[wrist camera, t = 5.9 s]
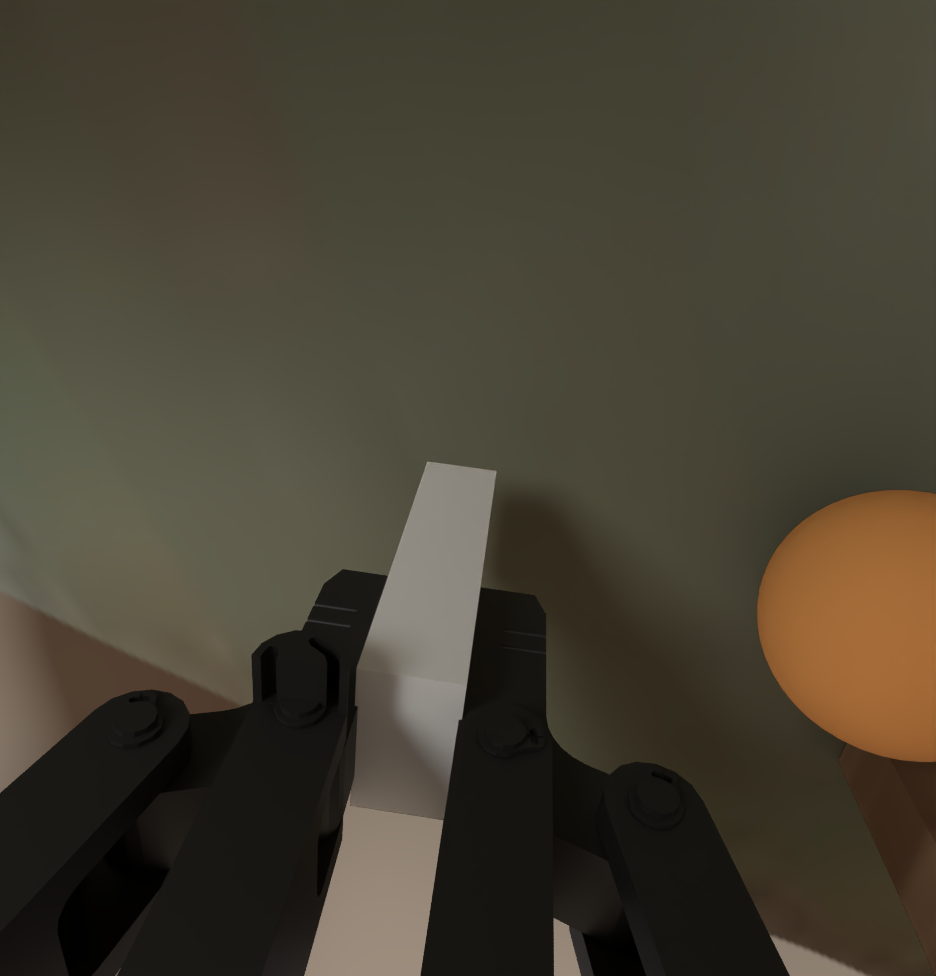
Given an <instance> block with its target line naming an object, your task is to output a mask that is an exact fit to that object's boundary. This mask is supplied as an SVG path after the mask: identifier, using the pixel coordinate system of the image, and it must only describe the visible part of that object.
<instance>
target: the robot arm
mask: <svg viewBox="0 0 936 976" xmlns="http://www.w3.org/2000/svg"><path fill="white" fill-rule="evenodd" d="M495 478H496V471H492V470H485V469H478V468H471V467H464V466H457V465H449V464H442V463H435V462H428V461H427V464H426V467H425V470H424V473H423V476H422V479H421V482H420V484H419V487H418V490H417V493H416V496H415V499H414V502H413V505H412V508H411V511H410V514H409V517H408V520H407V522H406V525H405V528H404V531H403V534H402V537H401V540H400V543H399V546H398V549H397V552H396V555H395V558H394V560H393V563H392V566H391V569H390V572H389V575H388V576H385V575H379V574H372V573H365V572H358V571H351V570H344V569H343V570H341V571H340V572H339V573H337V574H336V575H335V576H334V577H332V578H331V579H330V580H328V581H327V582H326V583H325V584H324V585H323V587H322V589H321V591H320V593H319V595H318V598H317V600H316V602H315V606H313V608H312V610H311V612H310V614H309V617H308V620H307V622H306V623H305V625H304V627H303V629H302V631H297V630H295V631H291V632H287V633H282V634H278V635H276V636H274V637H272V638H270V639H268V640H267V641H265V642H263V643H261V645H260V646H259V647H258V648H257V649H256V650H255V651H254V653H253V654H252V678H253V702H252V703H250V704H248V705H245V706H242V707H239V708H236V709H231V710H225V711H219V712H209V713H199V714H190V713H189V712H188V710H187V707H186V706H185V704H184V702H183V701H182V700H181V699H179V698H177V697H176V696H174V695H173V694H171V693H168V692H162V691H157V690H145V691H134V692H130V693H127V694H124V695H121V696H118V697H115V698H112V699H111V700H109V701H108V702H106V703H105V704H103V705H102V706H100V707H99V708H97V709H95V710H94V711H93V712H92V713H91V714H90V715H89V716H87V717H86V718H85V719H84V720H83V721H82V722H81V723H79V724H78V725H77V726H76V727H75V728H74V729H73V730H71V731H70V732H69V733H68V734H67V735H66V736H65V737H63V738H62V739H61V740H60V741H59V742H58V743H57V744H56V745H55V746H53V747H52V748H51V749H50V750H49V751H48V752H46V753H45V754H44V755H43V756H42V757H41V758H40V759H39V760H37V761H36V762H35V763H34V764H33V765H32V766H31V767H29V768H28V769H27V770H26V771H25V772H24V773H23V774H21V775H20V776H19V777H18V778H17V779H16V780H15V781H14V782H12V783H11V784H10V785H9V786H8V787H7V788H5V789H4V790H3V791H2V792H1V793H0V976H115V975H116V973H117V972H118V971H119V969H120V968H121V969H120V971H119V973H118V975H117V976H304V974H305V971H306V967H307V963H308V960H309V956H310V953H311V949H312V945H313V942H314V938H315V934H316V931H317V928H318V924H319V920H320V916H321V913H322V910H323V906H324V902H325V898H326V895H327V892H328V888H329V884H330V881H331V877H332V873H333V870H334V866H335V863H336V859H337V855H338V852H339V848H340V845H341V841H342V830H343V815H344V811H345V808H346V804H347V801H348V797H349V794H350V790H351V798H350V806H356V807H363V808H369V809H375V810H382V811H388V812H394V813H401V814H407V815H413V816H420V817H427V818H433V819H439V820H444V821H443V829H442V835H441V841H440V848H439V855H438V862H437V868H436V875H435V882H434V889H433V895H432V902H431V910H430V916H429V922H428V929H427V936H426V943H425V950H424V956H423V963H422V970H421V976H554V942H553V941H554V938H553V937H554V936H553V935H554V933H553V918H555V919H557V920H560V921H561V922H563V923H565V924H567V925H569V929H570V934H571V938H572V942H573V946H574V949H575V953H576V957H577V961H578V965H579V969H580V973H581V976H790V975H789V973H788V971H787V969H786V967H785V965H784V963H783V961H782V959H781V957H780V956H779V953H778V951H777V949H776V947H775V945H774V943H773V941H772V939H771V937H770V935H769V933H768V931H767V929H766V927H765V925H764V923H763V921H762V919H761V917H760V915H759V913H758V911H757V909H756V907H755V905H754V903H753V901H752V899H751V897H750V895H749V893H748V891H747V889H746V887H745V885H744V883H743V880H742V878H741V876H740V874H739V872H738V870H737V868H736V866H735V864H734V862H733V860H732V858H731V856H730V854H729V852H728V850H727V848H726V846H725V844H724V842H723V840H722V838H721V836H720V834H719V832H718V830H717V828H716V826H715V824H714V822H713V820H712V818H711V816H710V814H709V812H708V810H707V808H706V806H705V804H704V802H703V800H702V799H701V797H700V796H699V795H698V793H697V792H696V790H695V789H694V788H693V786H692V785H691V784H690V783H688V782H687V781H686V780H684V779H683V778H682V777H681V776H679V775H678V774H677V773H676V772H673V771H671V770H669V769H666V768H664V767H662V766H659V765H657V764H650V763H642V762H635V763H630V764H626V765H622V766H620V767H619V768H617V769H616V770H615V771H613V772H612V773H611V774H610V775H609V774H606V773H604V772H602V771H600V770H597V769H595V768H593V767H590V766H588V765H586V764H584V763H582V762H580V761H579V760H577V759H575V758H573V757H572V756H571V755H569V754H568V753H567V752H566V751H564V750H563V749H562V748H561V747H560V746H559V744H558V743H557V742H556V741H555V739H554V738H553V736H552V734H551V732H550V730H549V728H548V724H547V718H546V613H545V612H544V610H543V608H542V607H541V605H540V603H539V602H538V600H537V598H536V597H535V595H529V594H522V593H516V592H509V591H502V590H495V589H488V588H481V587H480V586H481V579H482V572H483V565H484V558H485V550H486V543H487V536H488V529H489V522H490V514H491V507H492V500H493V493H494V486H495Z"/></svg>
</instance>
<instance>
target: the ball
mask: <svg viewBox="0 0 936 976" xmlns="http://www.w3.org/2000/svg"><path fill="white" fill-rule="evenodd" d="M757 624H758V631H759V637H760V642H761V645H762V648H763V652H764V655H765V658H766V660H767V662H768V664H769V667H770V669H771V671H772V673H773V675H774V676H775V678H776V680H777V681H778V683H779V685H780V686H781V688H782V689H783V691H784V692H785V693H786V694H787V696H788V697H789V698H790V699H791V701H792V702H793V703H794V704H795V705H796V706H797V707H798V708H799V709H800V710H801V711H802V712H803V713H804V714H805V715H806V716H807V717H808V718H809V719H811V720H812V721H813V722H815V723H816V724H817V725H818V726H820V727H821V728H822V729H824V730H825V731H827V732H829V733H830V734H832V735H834V736H835V737H837V738H838V739H840V740H842V741H844V742H846V743H848V744H851V745H853V746H855V747H857V748H859V749H861V750H864V751H867V752H870V753H873V754H876V755H879V756H883V757H888V758H893V759H897V760H904V761H916V762H936V494H934V493H929V492H921V491H911V490H883V491H875V492H867V493H863V494H859V495H855V496H851V497H847V498H845V499H842V500H840V501H837V502H834V503H832V504H830V505H828V506H826V507H824V508H822V509H820V510H819V511H817V512H815V513H813V514H812V515H811V516H809V517H808V518H806V519H805V520H803V521H802V522H801V523H800V524H798V525H797V526H796V527H795V528H794V529H793V530H792V531H791V532H790V533H789V534H788V535H787V536H786V537H785V539H784V540H783V541H782V542H781V544H780V545H779V546H778V547H777V549H776V551H775V552H774V554H773V556H772V557H771V559H770V561H769V563H768V565H767V568H766V570H765V572H764V575H763V578H762V582H761V585H760V589H759V595H758V603H757Z"/></svg>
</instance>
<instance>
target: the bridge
mask: <svg viewBox="0 0 936 976" xmlns="http://www.w3.org/2000/svg"><path fill="white" fill-rule="evenodd" d="M838 762H839V764H840V766H841V768H842V770H843V773H844V775H845V777H846V779H847V781H848V784H849V786H850V788H851V790H852V793H853V795H854V797H855V799H856V801H857V804H858V806H859V808H860V810H861V812H862V815H863V817H864V819H865V821H866V824H867V826H868V828H869V830H870V832H871V835H872V837H873V839H874V841H875V843H876V846H877V848H878V850H879V852H880V854H881V857H882V859H883V861H884V863H885V866H886V868H887V870H888V872H889V874H890V877H891V879H892V881H893V883H894V885H895V888H896V890H897V892H898V894H899V896H900V899H901V901H902V903H903V905H904V908H905V910H906V912H907V914H908V916H909V919H910V921H911V923H912V925H913V927H914V930H915V932H916V934H917V936H918V938H919V941H920V943H921V945H922V947H923V950H924V952H925V954H926V956H927V958H928V961H929V963H930V965H931V967H932V969H933V972H934V974H935V976H936V762H916V761H904V760H897V759H893V758H888V757H883V756H879V755H876V754H873V753H870V752H867V751H864V750H861V749H859V748H857V747H855V746H853V745H851V744H848V743H847V744H846V746H845V748H844V750H843V752H842V754H841V756H840V758H839V760H838Z"/></svg>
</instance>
